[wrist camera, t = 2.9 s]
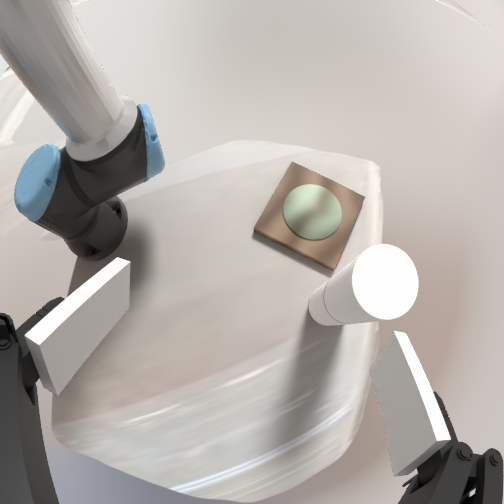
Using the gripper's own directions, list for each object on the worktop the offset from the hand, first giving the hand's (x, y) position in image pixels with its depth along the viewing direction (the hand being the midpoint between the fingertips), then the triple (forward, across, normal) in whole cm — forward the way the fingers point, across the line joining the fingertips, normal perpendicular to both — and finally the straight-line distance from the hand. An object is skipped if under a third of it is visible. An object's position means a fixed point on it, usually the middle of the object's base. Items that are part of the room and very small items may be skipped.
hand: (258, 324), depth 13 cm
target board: (+42, +7, -4) cm, 43 cm away
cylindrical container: (+32, +13, -16) cm, 38 cm away
